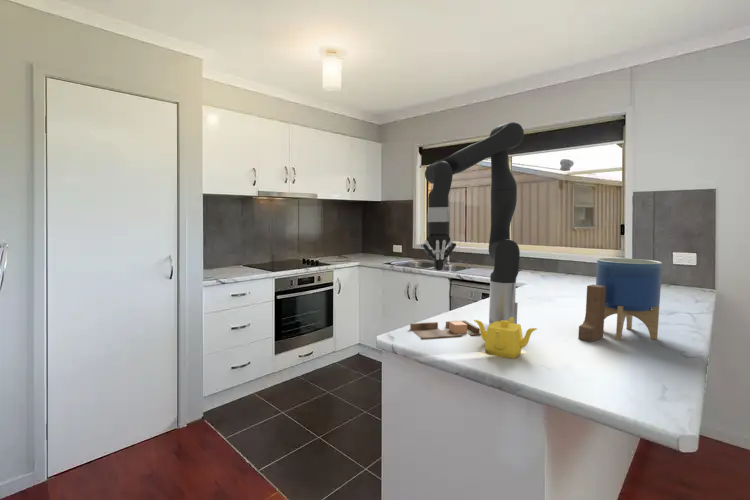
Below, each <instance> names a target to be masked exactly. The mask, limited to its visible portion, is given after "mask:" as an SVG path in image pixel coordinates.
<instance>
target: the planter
mask: <svg viewBox="0 0 750 500" xmlns="http://www.w3.org/2000/svg"><path fill="white" fill-rule="evenodd" d="M662 269H663V262H662V261H658V260H653V259H640V258H626V257H625V258H624V257H623V258H622V257H602V258H597V259H596V276H595V277H596V278H595V279H596V280H595V285H601V286H606V294H605V312H604V320H606V319H607V318H608V317H610V316H612V315H616V314H617V317H616V330H615V331H616V333H615V340H619V341H621V340H622V339H623V337H622V336H623V330H624V323H625V320H626V330H630V331H631V330H632V327H633V318H636V319H638V320H639V321H641V322H642V323H643V324H644V326H645V327H646V329H647V330H648V333H649V339H650V340H654V339H657V340H658V335H659V334H658V333H659V332H658V331H659V322H660V321H659V320H660V319H659V317H660V302H661V287H662V273H663V272H662Z"/></svg>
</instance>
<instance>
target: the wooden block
mask: <svg viewBox="0 0 750 500" xmlns="http://www.w3.org/2000/svg"><path fill="white" fill-rule="evenodd" d="M605 294H606V286H601V285H596V284H590V285H586V298H585V299H586V301H585V302H586V303H585V314H584V315H585V316H584V320H583V322H582V324H580V325H579V326H578V339H579V340H582V341H587V342H590V343H591V342H592V343H593V342H594V341H597V340H600V339H602V338H604V330H605V327H604V326H605V319H604V312H605Z"/></svg>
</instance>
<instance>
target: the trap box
mask: <svg viewBox="0 0 750 500" xmlns="http://www.w3.org/2000/svg"><path fill="white" fill-rule="evenodd" d="M455 321H456V320H450V321H449V320H448V321H445V328H446V329H440V328H438V327H439V325H438V324H439V323H438V322H437V321H432V322H431V321H430V322H428V321H427V322H414V323H413V322H411V323H409V325H410V326H409V328H410V331H412V332H413V333H414V334H415V335H416V336H418V337H419V338H420V339H421V340H431V339H432V340H433V339H446V338H447V339H449V338H461V337H463V336H462V333H460V334H454V333H453V332H451V331H450V330H449V322H455ZM461 321H462V322H464V323H465V324H467V333H466V334H467V335H469V336H470V337H477V336H479V337H480V336H481V333H480V327H479V326H477V325H474V324H472V323H470V322H469V321H467V320H463V319H462V320H461Z"/></svg>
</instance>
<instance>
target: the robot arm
mask: <svg viewBox="0 0 750 500" xmlns="http://www.w3.org/2000/svg"><path fill="white" fill-rule="evenodd" d="M524 136H525V131H524V129H523V126H522V125H521V124H519V123H518V122H515V121H510V122H506V123H503V124H500V125H498V126H496V127H493V129H492V130H491V132H490V134H489V136H488V137H486V138H485V139H482V140H480V141H478V142H475V143H472V144H470V145H468V146H466V147H464V148H462V149H460V150H458V151H456V152H454V153H452V154H451V155H449V156H447V157H445V158H442V159H440V160H437V161H435V162H433V163H431V164H430V165H428V166H427V167H426V168H425V171H424V178H425V180H426V181H427V182H428V183H430V184H433V185H432V189H431V190H430V191H429V193H428V198H427V199H428V200H427V202H428V203H427V207H428V209H427V238H426V241H424V243H421V244H420V247H421V249H422V250H423V251H424V253H425V254H426V255H427V256H428V257H429V259H430V258H431V259H433V267H434V269H435V271H442V270H443V269H444V259H447V258H449V256H450V255H451V254H452V252H453V251H454V249H455V248H456V246H457V243H456V242H453V241H452V240H451V236H450V219H451V218H450V209H449V207H450V201H449V200H450V196H449V195H450V191H451V187H452V183H453V176H454V175H456V174H459V173H462V172H464V171H466V170H468V169H470V168H472V167H474V166H475V165H477V164H478V163H480V162H482V161H484V160H486V159H487V158H490V168H491V169H490V171H491V172H490V174H491V175H490V178H491V180H490V184H491V185H490V232H489V233H490V234H489V243H488V254H489V257H490V259H492V260H493V261H494V265H493V267H494V269H493V271H492V272H491V273H490V277H489V279H490V281H489V310H488V311H489V313H488V326H489V325H490V324H492V323H493V322H495V321H501V320H507V321H509V318H511V317H513V318H514V319H513V323H514V324H518V306H519V305H518V302H517V301H516V295H517V294H516V291H517V290H516V289H517V277H518V275H519V269H520V259H521V258H520V255H521V253H520V251H521V250H520V247H519V244H518V243H517V242H516V241H515V240H513V239H511V221H512V219H513V216H514V213H515V210H516V207H517V200H518V197H517V195H518V186H517V185H518V184H517V181H516V179H515V176H514V174H513V172H512V170H511V167H510V165H509V163H510V162H509V152H510V149H515V148H517V147H519V145H520V144H521V143H522V142H523V140H524ZM430 248H431V249H430Z"/></svg>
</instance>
